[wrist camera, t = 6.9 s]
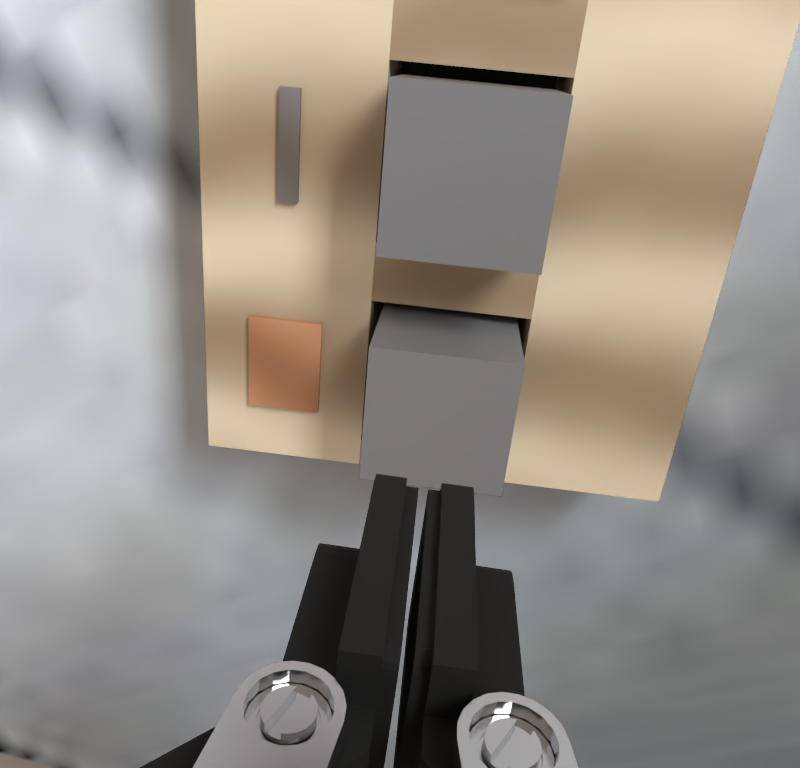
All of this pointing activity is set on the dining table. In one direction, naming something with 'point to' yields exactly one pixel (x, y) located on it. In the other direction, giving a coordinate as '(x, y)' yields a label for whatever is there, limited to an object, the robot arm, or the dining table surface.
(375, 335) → the button
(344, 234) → the switch unit
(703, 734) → the dining table surface
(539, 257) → the button
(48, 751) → the dining table surface
